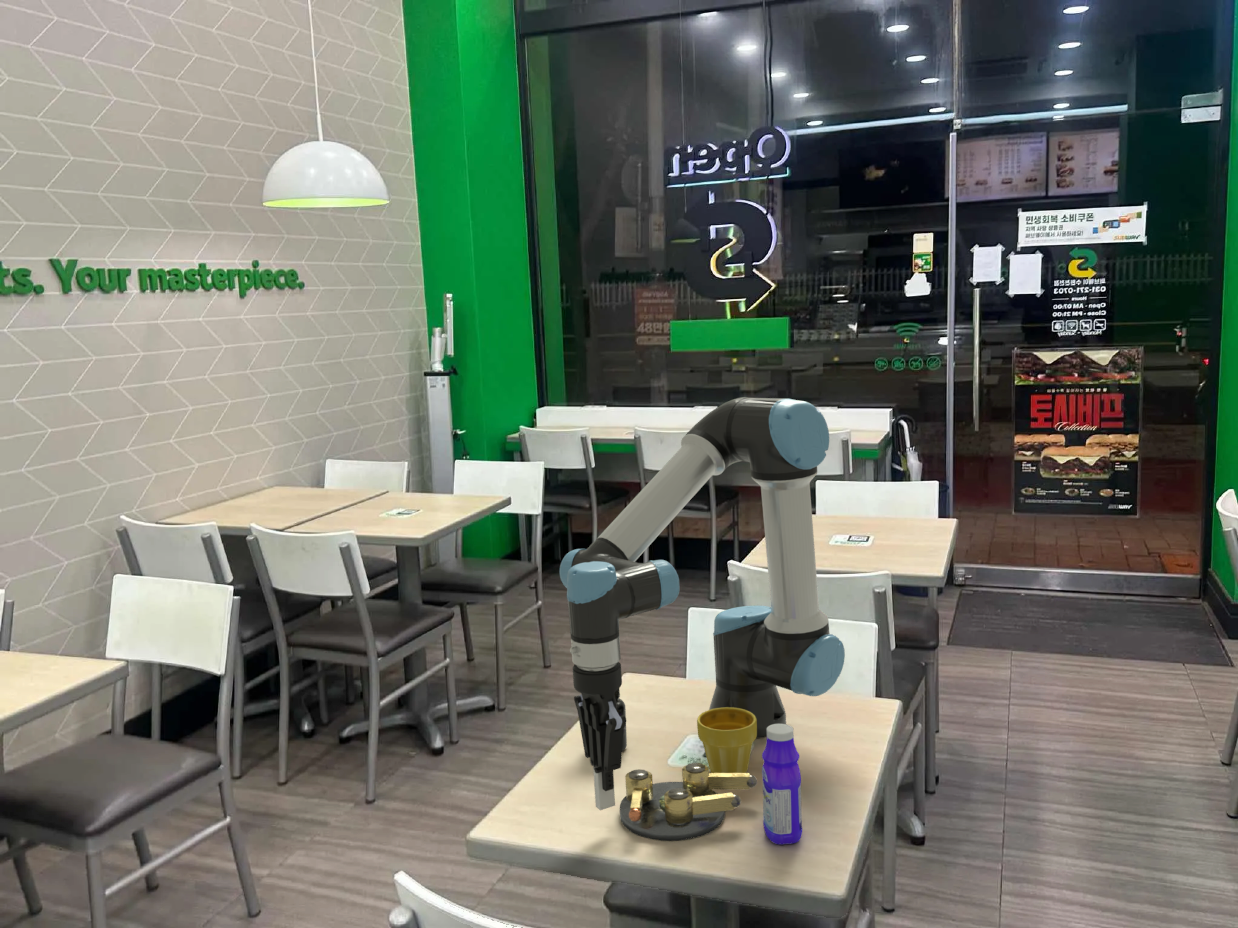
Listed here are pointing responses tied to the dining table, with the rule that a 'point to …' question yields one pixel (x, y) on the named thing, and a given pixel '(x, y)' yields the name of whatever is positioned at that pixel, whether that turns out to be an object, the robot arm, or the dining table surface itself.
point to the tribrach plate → (659, 827)
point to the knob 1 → (638, 791)
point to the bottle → (781, 786)
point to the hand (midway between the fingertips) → (605, 805)
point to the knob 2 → (695, 804)
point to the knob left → (713, 779)
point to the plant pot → (727, 738)
